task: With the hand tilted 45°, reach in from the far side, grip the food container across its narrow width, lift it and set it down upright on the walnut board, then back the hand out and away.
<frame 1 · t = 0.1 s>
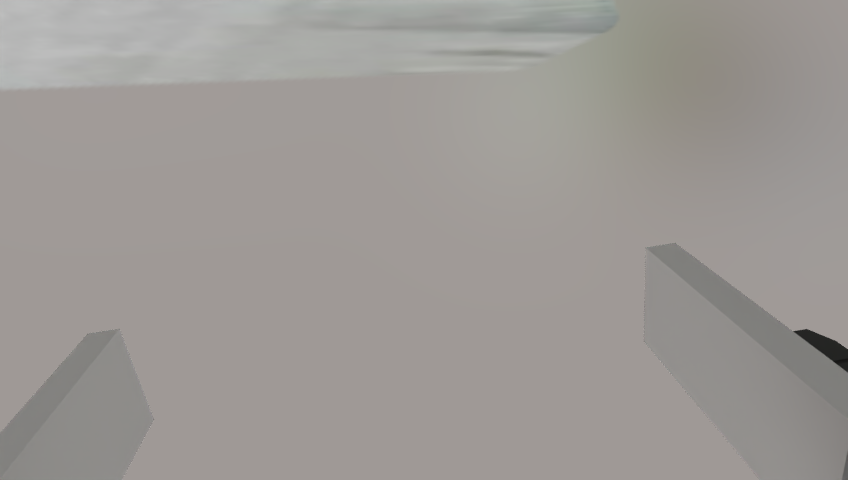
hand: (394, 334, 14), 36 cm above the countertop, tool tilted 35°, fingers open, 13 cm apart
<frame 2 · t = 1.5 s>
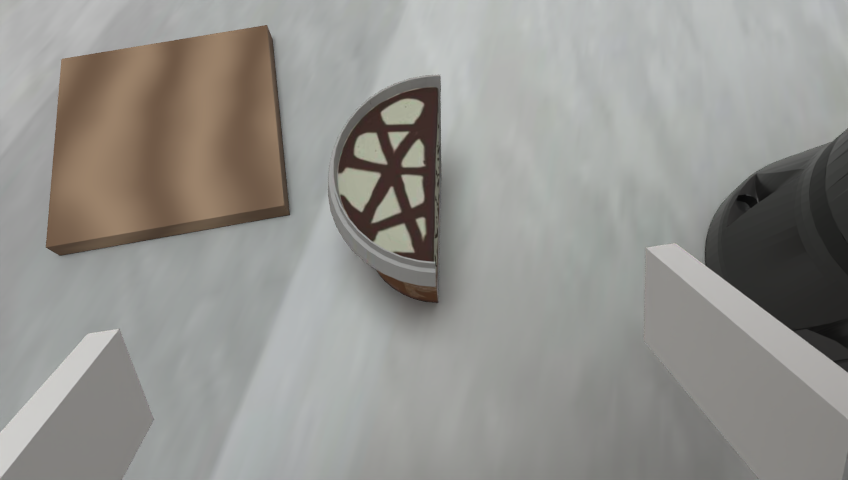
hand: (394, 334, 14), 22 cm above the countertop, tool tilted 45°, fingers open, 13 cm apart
food container: (395, 237, 39), on the countertop
walnut board: (174, 138, 43), on the countertop
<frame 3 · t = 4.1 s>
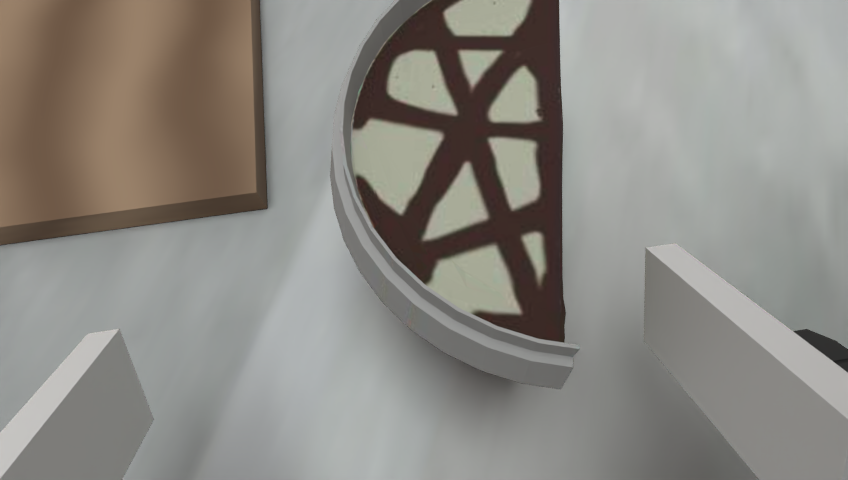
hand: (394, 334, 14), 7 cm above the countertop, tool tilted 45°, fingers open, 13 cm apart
food container: (443, 253, 23), on the countertop
walnut board: (91, 78, 27), on the countertop
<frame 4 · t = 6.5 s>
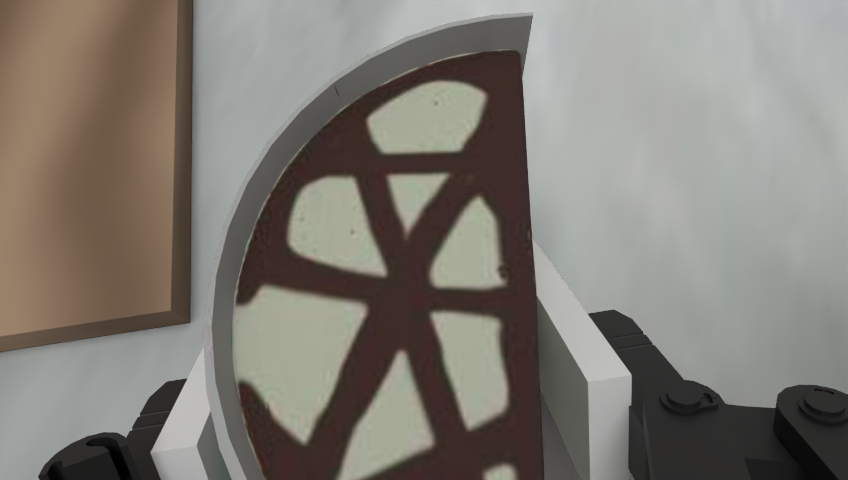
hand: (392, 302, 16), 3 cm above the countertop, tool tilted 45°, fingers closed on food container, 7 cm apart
food container: (400, 379, 19), on the countertop, touching gripper
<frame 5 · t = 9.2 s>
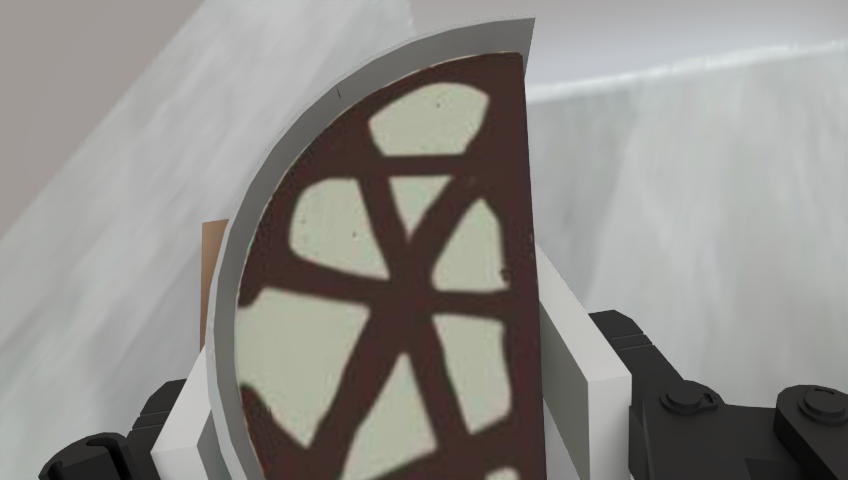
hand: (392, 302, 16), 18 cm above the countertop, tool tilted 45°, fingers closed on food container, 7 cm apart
food container: (401, 381, 19), point 14 cm above the countertop, touching gripper
walnut board: (344, 336, 34), on the countertop
when the fingers open (6 cm above the countertop, at t = 12.3 s): food container drops 1 cm, resting on walnut board.
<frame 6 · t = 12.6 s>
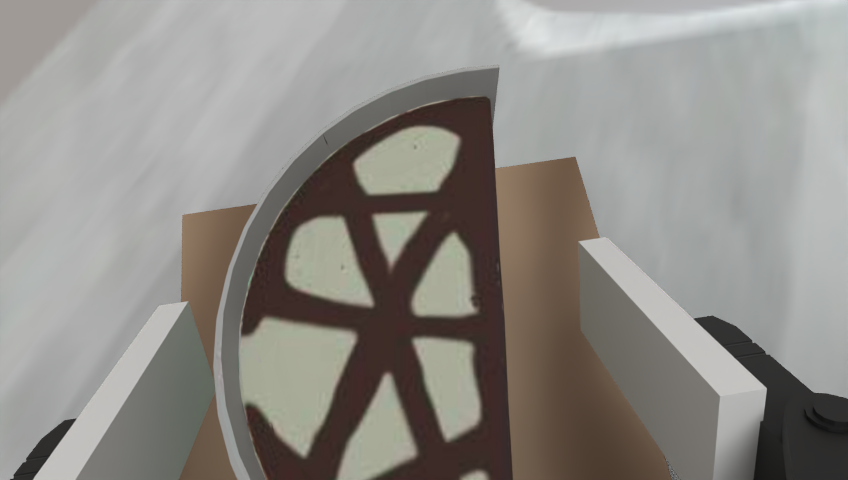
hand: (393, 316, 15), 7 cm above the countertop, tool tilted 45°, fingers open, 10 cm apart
food container: (393, 389, 20), point 1 cm above the countertop, touching walnut board
walnut board: (411, 391, 21), on the countertop
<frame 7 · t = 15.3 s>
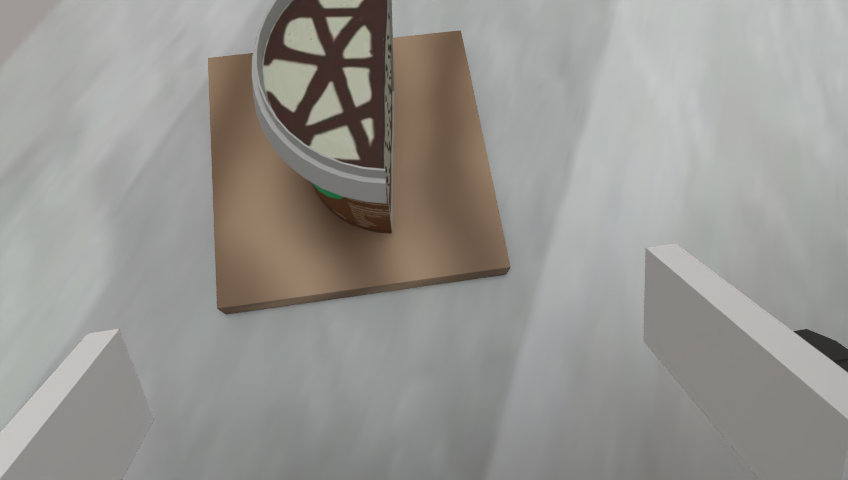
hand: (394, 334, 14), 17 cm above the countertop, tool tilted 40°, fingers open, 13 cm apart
food container: (341, 159, 34), point 1 cm above the countertop, touching walnut board
walnut board: (352, 167, 35), on the countertop
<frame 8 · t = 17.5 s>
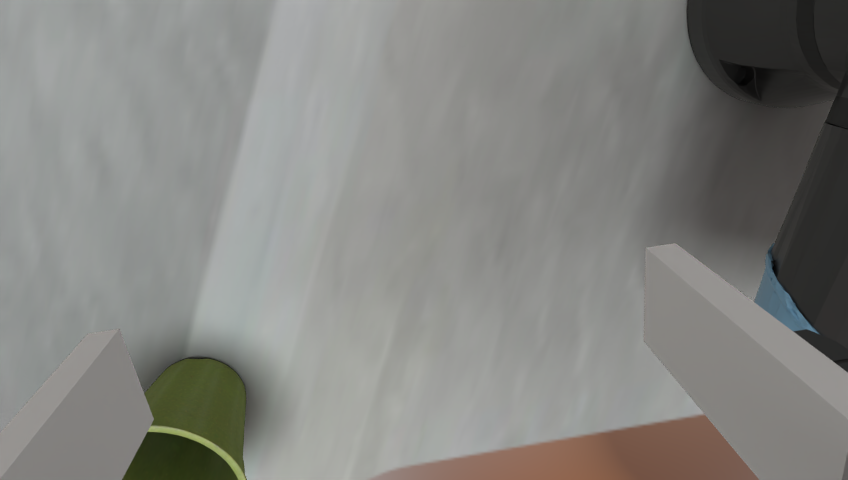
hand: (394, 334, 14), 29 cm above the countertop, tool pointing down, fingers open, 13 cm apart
plant pot: (204, 391, 48), on the countertop
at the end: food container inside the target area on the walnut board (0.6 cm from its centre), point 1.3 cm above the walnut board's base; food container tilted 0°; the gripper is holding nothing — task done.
